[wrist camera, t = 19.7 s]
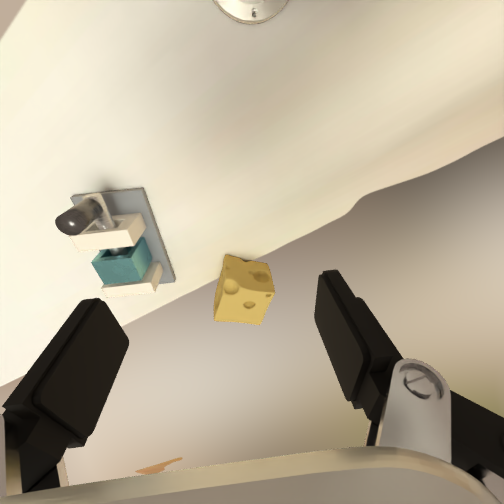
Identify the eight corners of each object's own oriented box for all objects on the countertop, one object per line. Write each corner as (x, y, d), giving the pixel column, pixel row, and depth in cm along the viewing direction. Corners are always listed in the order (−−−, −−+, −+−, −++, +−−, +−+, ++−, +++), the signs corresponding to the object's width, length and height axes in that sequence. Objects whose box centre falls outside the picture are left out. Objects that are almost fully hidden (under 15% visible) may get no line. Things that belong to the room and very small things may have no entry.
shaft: (85, 193, 35) (50, 216, 28) (105, 191, 35) (74, 213, 28) (129, 280, 45) (111, 312, 38) (144, 278, 45) (129, 310, 38)
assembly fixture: (73, 195, 39) (43, 213, 32) (143, 187, 39) (126, 204, 33) (122, 284, 51) (107, 311, 44) (175, 278, 51) (168, 304, 44)
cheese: (224, 253, 48) (223, 284, 40) (271, 262, 51) (279, 293, 43) (214, 288, 54) (212, 322, 45) (257, 295, 56) (262, 328, 48)
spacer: (109, 240, 43) (91, 262, 37) (144, 237, 43) (131, 257, 37) (120, 261, 46) (104, 284, 40) (152, 257, 46) (141, 280, 40)
